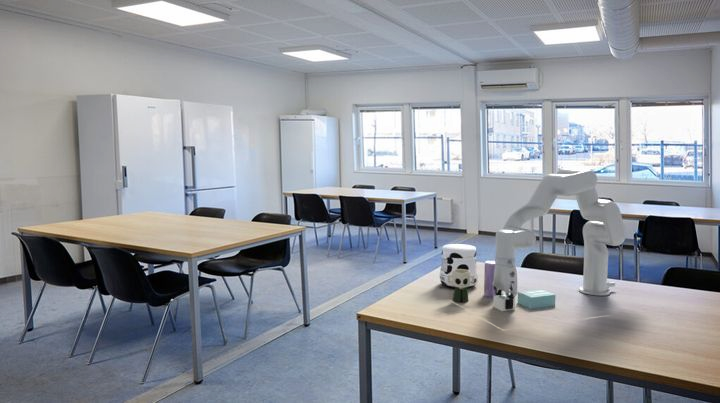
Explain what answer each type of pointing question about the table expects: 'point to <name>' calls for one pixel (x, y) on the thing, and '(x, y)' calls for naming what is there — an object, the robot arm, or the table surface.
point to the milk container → (458, 262)
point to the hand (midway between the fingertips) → (504, 305)
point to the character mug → (460, 284)
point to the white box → (501, 302)
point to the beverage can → (489, 279)
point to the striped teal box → (536, 298)
